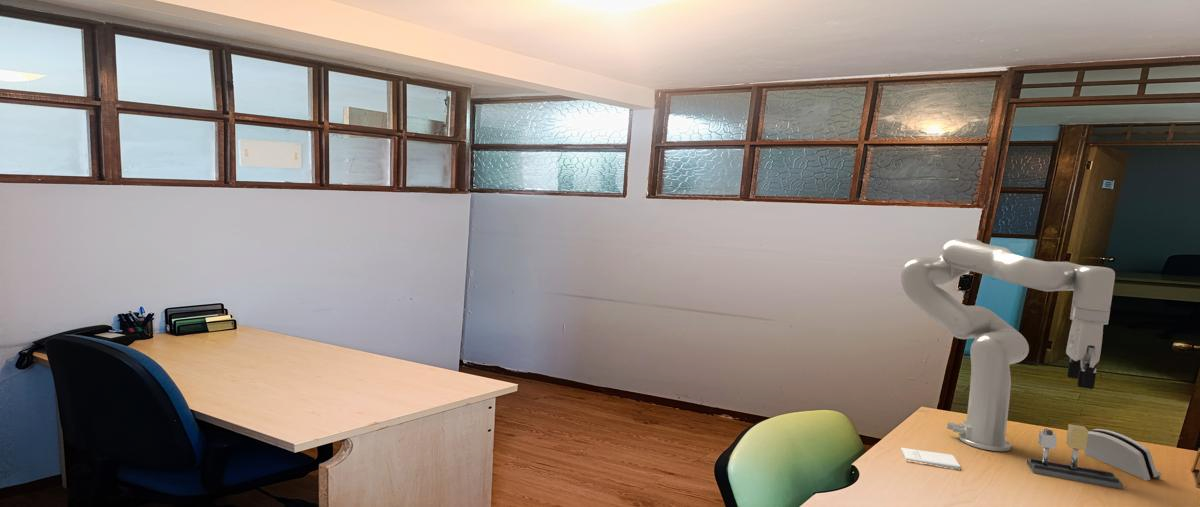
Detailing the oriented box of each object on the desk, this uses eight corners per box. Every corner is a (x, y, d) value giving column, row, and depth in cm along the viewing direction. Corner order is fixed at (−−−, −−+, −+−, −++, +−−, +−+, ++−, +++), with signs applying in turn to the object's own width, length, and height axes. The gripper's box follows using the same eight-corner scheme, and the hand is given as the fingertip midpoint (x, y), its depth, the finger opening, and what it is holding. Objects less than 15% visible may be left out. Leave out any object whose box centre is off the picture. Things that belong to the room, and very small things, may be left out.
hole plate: (1033, 472, 155) (1037, 432, 154) (1026, 462, 161) (1030, 423, 161) (1122, 489, 148) (1128, 447, 147) (1112, 478, 154) (1117, 437, 154)
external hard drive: (959, 472, 154) (905, 463, 158) (952, 460, 162) (899, 452, 166) (960, 466, 154) (905, 457, 158) (952, 454, 162) (900, 446, 166)
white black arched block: (1163, 480, 155) (1156, 443, 154) (1147, 486, 154) (1141, 450, 153) (1098, 453, 171) (1092, 420, 170) (1084, 459, 171) (1077, 426, 169)
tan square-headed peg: (1067, 469, 154) (1072, 427, 153) (1063, 465, 157) (1068, 424, 156) (1083, 472, 152) (1088, 430, 152) (1079, 467, 155) (1084, 426, 155)
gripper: (1062, 308, 163) (1053, 372, 165) (1080, 319, 147) (1070, 388, 149) (1098, 312, 160) (1088, 377, 161) (1119, 323, 144) (1109, 394, 146)
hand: (1079, 382), depth 155 cm, fingers open, 9 cm apart
